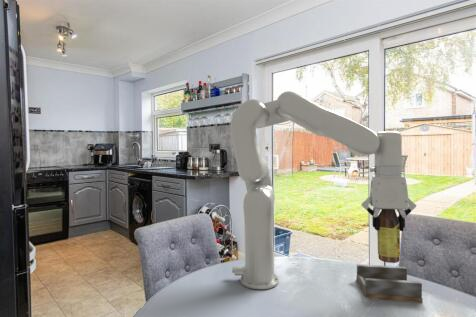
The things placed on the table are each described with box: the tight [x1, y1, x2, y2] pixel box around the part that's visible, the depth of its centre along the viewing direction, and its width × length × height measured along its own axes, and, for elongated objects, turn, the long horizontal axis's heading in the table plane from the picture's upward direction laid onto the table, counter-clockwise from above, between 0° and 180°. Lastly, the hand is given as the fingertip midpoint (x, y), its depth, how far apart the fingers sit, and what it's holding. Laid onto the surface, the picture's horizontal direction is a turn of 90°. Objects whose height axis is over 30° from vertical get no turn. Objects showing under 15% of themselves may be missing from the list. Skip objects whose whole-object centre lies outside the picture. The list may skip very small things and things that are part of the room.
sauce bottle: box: [376, 209, 401, 264], centre depth 94 cm, size 6×6×20 cm
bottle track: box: [356, 264, 423, 303], centre depth 94 cm, size 15×14×5 cm
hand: (388, 229), depth 94 cm, fingers closed on sauce bottle, 6 cm apart
